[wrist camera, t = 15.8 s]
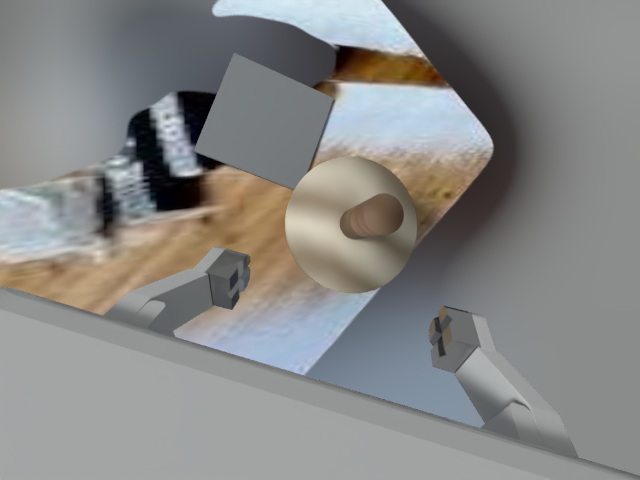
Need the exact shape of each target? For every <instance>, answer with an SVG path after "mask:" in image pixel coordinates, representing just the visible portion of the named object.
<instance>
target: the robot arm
mask: <svg viewBox="0 0 640 480" xmlns="http://www.w3.org/2000/svg"><path fill="white" fill-rule="evenodd" d="M249 263H250V256H249V255H246V254H243V253H239V252H236V251H232V250H229V249H224V248H221V247H217V246H216V247H213V248H212V249H211V250H210V251H209V252H208V253H207V255H206V256H205V257H204V258H203V259H202V260H201V261H200V262H199V263H198V264H197V265H196V267H195V268H194V269H193V270H192V269H188V270H185V271H183V272H180V273H177V274H175V275H172V276H169V277H167V278H164V279H162V280H159V281H156V282H154V283H151V284H148V285H146V286H143V287H141V288H138V289H135V290H133V291H130V292H129V293H128V294H126V295H125V296H124V297H123V298H122V299H121V300H120V301H119V302H118V303H117V304H115V305H114V306H113V307H112V308H111V309H110V310H109V311H108V312H107V313H106V314H105V315H100V314H96V313H93V312H90V311H86V310H83V309H80V308H76V307H73V306H70V305H66V304H63V303H60V302H56V301H53V300H49V299H46V298H43V297H39V296H36V295H33V294H30V293H27V292H23V291H20V290H17V289H13V288H8V287H0V480H640V476H638V475H635V474H632V473H628V472H625V471H622V470H618V469H615V468H612V467H608V466H605V465H602V464H598V463H595V462H592V461H588V460H585V459H581V458H579V457H578V455H577V453H576V451H575V448H574V446H573V444H572V442H571V440H570V438H569V435H568V433H567V431H566V429H565V426H564V424H563V422H562V419H561V417H560V415H559V414H558V413H557V412H556V411H555V410H554V409H553V408H552V407H551V406H550V405H549V404H548V402H546V400H545V399H544V398H543V397H542V396H541V395H540V394H539V393H538V392H537V391H536V390H535V389H534V388H533V387H532V386H531V384H530V383H529V382H528V381H527V380H526V379H525V378H524V377H523V376H522V375H521V374H520V373H519V372H518V371H517V370H516V369H515V368H514V366H513V365H512V364H511V363H510V362H509V361H508V360H507V359H506V358H505V357H504V356H503V355H502V354H501V353H498V352H497V351H496V348H495V345H494V342H493V339H492V336H491V333H490V330H489V328H488V325H487V322H486V319H485V317H484V316H483V315H479V314H476V313H472V312H467V311H463V310H459V309H455V308H451V307H447V306H442V307H441V308H440V310H439V311H438V314H439V317H437V318H434V319H433V321H432V323H431V325H430V329H429V340H430V342H431V344H432V345H433V346H434V347H433V348H432V350H431V358H432V365H433V367H436V368H439V369H442V370H446V371H449V372H452V373H455V376H456V378H457V379H458V381H459V383H460V384H461V386H462V387H463V389H464V390H465V392H466V394H467V395H468V397H469V399H470V400H471V402H472V403H473V405H474V406H475V408H476V410H477V411H478V413H479V415H480V416H481V418H482V419H483V421H484V423H485V424H484V425H483V426H482V427H481V428H478V427H475V426H471V425H468V424H465V423H461V422H458V421H455V420H451V419H448V418H445V417H441V416H437V415H434V414H431V413H427V412H424V411H421V410H418V409H414V408H411V407H408V406H404V405H401V404H398V403H394V402H391V401H387V400H384V399H380V398H377V397H374V396H371V395H367V394H364V393H361V392H357V391H354V390H350V389H347V388H344V387H340V386H337V385H333V384H330V383H327V382H324V381H320V380H317V379H314V378H310V377H307V376H304V375H300V374H297V373H294V372H290V371H287V370H284V369H280V368H277V367H274V366H270V365H267V364H264V363H260V362H257V361H254V360H250V359H247V358H243V357H240V356H237V355H233V354H230V353H227V352H223V351H220V350H217V349H213V348H210V347H207V346H203V345H200V344H197V343H193V342H190V341H187V340H183V339H180V338H177V337H175V335H174V332H173V331H174V330H175V329H177V328H178V327H180V326H182V325H183V324H185V323H187V322H188V321H190V320H191V319H193V318H195V317H196V316H198V315H200V314H201V313H203V312H204V311H206V310H208V309H209V308H211V307H212V306H213V305H215V306H218V307H222V308H226V309H230V310H232V309H233V308H234V306H235V305H236V303H237V301H238V300H239V293H240V292H242V291H244V290H245V288H246V287H247V285H248V282H249V279H250V269H249V267H248V265H249Z"/></svg>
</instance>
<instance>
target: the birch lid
mask: <svg viewBox="0 0 640 480" xmlns="http://www.w3.org/2000/svg"><path fill="white" fill-rule="evenodd" d="M285 231H286V238H287V242H288V246H289V248H290V251H291V253H292V255H293V257H294V259H295V261H296V262H297V264H298V265H299V266H300V268H301V269H302V270H303V271H304V272H305V273H306V274H307V275H308V276H309V277H310V278H312V279H313V280H314V281H316V282H317V283H319V284H321V285H323V286H325V287H327V288H329V289H332V290H335V291H339V292H344V293H363V292H368V291H371V290H375V289H377V288H379V287H382V286H383V285H385V284H386V283H388V282H390V281H391V280H392V279H393V278H395V277H396V276H397V275H398V274H399V273H400V272H401V271H402V269H403V268H404V267H405V265H406V264H407V262H408V260H409V258H410V256H411V254H412V252H413V249H414V246H415V242H416V236H417V218H416V212H415V208H414V204H413V202H412V199H411V197H410V195H409V193H408V191H407V189H406V188H405V186H404V185H403V183H402V182H401V181H400V180H399V179H398V178H397V177H396V176H395V175H394V174H393V173H392V172H391V171H390V170H388V169H387V168H385V167H384V166H382V165H380V164H378V163H376V162H374V161H371V160H368V159H364V158H360V157H340V158H334V159H331V160H328V161H326V162H323V163H321V164H319V165H318V166H316V167H315V168H313V169H312V170H310V171H309V172H308V173H307V174H306V175H305V176H304V177H303V178H302V179H301V181H300V182H299V183H298V185H297V186H296V188H295V189H294V191H293V193H292V196H291V198H290V200H289V203H288V206H287V210H286V216H285Z"/></svg>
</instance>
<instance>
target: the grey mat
mask: <svg viewBox="0 0 640 480" xmlns="http://www.w3.org/2000/svg"><path fill="white" fill-rule="evenodd" d="M333 99H334V98H332V97H330V96H328V95H326V94H323V93H321V92H319V91H317V90H315V89H312V88H310V87H308V86H306V85H303V84H301V83H299V82H297V81H295V80H293V79H290V78H288V77H286V76H284V75H282V74H280V73H277V72H275V71H273V70H271V69H269V68H266V67H264V66H262V65H260V64H258V63H255V62H253V61H251V60H249V59H247V58H245V57H242V56H240V55H238V54H236V53H234V54H233V57H232V59H231V62H230V64H229V66H228V69H227V71H226V73H225V76H224V78H223V81H222V83H221V86H220V88H219V90H218V93H217V95H216V98H215V100H214V103H213V105H212V108H211V110H210V112H209V115H208V117H207V120H206V122H205V125H204V127H203V130H202V132H201V134H200V137H199V139H198V142H197V144H196V147H195V149H194V152H196V153H199V154H201V155H204V156H206V157H209V158H212V159H214V160H217V161H219V162H222V163H225V164H227V165H230V166H232V167H235V168H238V169H240V170H243V171H245V172H248V173H251V174H253V175H256V176H258V177H261V178H263V179H266V180H269V181H271V182H274V183H276V184H279V185H282V186H284V187H287V188H289V189H292V190H294V189H295V188H296V186H297V185H298V183H299V182H300V181H301V179H302V178H303V177H304V176H305V175H306V174H307V172H308V169H309V167H310V164H311V161H312V158H313V155H314V153H315V150H316V147H317V144H318V141H319V138H320V136H321V133H322V130H323V127H324V124H325V122H326V119H327V116H328V113H329V110H330V107H331V105H332V102H333Z"/></svg>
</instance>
